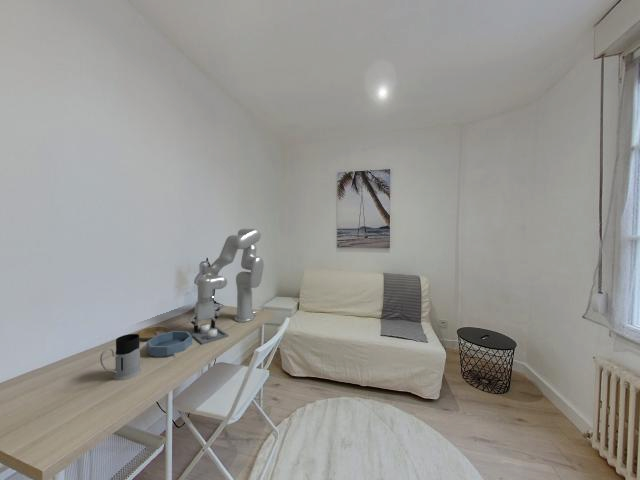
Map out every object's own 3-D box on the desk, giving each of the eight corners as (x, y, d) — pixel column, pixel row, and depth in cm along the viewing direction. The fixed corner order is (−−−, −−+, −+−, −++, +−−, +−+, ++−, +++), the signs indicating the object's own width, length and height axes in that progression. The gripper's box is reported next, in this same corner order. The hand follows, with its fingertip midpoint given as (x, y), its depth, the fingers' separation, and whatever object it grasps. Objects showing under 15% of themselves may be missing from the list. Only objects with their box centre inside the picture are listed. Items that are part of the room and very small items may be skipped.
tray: (213, 327, 149) (213, 324, 149) (228, 337, 136) (228, 334, 136) (188, 334, 139) (188, 331, 139) (202, 346, 126) (202, 342, 126)
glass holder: (146, 369, 104) (146, 334, 103) (109, 390, 90) (109, 350, 90) (130, 366, 106) (130, 332, 106) (92, 386, 93) (92, 346, 92)
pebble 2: (214, 334, 137) (214, 327, 137) (218, 337, 134) (218, 330, 134) (205, 337, 134) (205, 330, 134) (209, 340, 130) (209, 333, 130)
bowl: (183, 337, 136) (183, 328, 136) (196, 348, 123) (196, 338, 123) (144, 347, 123) (144, 338, 123) (153, 361, 110) (153, 351, 110)
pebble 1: (207, 329, 144) (207, 322, 144) (211, 332, 141) (211, 325, 141) (198, 332, 141) (198, 325, 141) (202, 334, 137) (202, 327, 137)
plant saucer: (151, 344, 128) (151, 339, 127) (128, 340, 130) (128, 335, 130) (174, 332, 142) (174, 328, 142) (152, 329, 145) (152, 325, 145)
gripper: (217, 295, 149) (217, 324, 150) (186, 300, 137) (185, 331, 137) (222, 298, 144) (222, 327, 144) (190, 303, 131) (190, 336, 132)
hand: (204, 329), depth 141 cm, fingers open, 8 cm apart
